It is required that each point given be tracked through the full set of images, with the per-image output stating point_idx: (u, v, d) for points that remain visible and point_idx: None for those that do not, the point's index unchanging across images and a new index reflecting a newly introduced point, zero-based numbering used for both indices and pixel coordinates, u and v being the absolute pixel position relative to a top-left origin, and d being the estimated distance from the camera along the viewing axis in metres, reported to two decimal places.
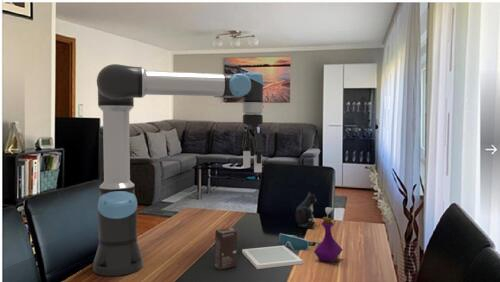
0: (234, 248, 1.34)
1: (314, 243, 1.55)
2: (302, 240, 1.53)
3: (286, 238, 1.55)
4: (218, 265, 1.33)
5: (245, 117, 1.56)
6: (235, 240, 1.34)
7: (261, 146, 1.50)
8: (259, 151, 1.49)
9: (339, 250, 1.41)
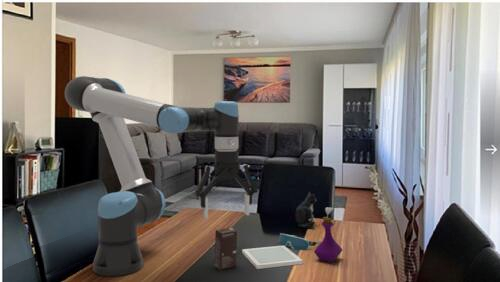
0: (234, 248, 1.34)
1: (314, 243, 1.55)
2: (302, 240, 1.53)
3: (286, 238, 1.55)
4: (218, 265, 1.33)
5: None
6: (235, 240, 1.34)
7: (198, 187, 1.30)
8: (195, 192, 1.31)
9: (339, 250, 1.41)
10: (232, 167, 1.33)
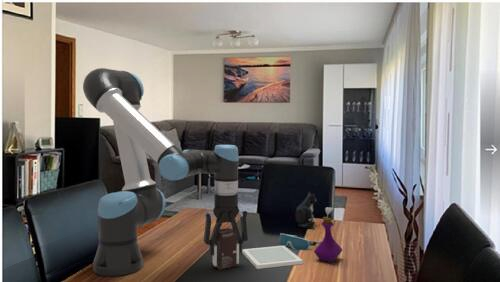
0: (234, 248, 1.34)
1: (315, 243, 1.55)
2: (303, 240, 1.53)
3: (287, 238, 1.55)
4: (218, 265, 1.33)
5: None
6: (235, 240, 1.34)
7: (205, 236, 1.32)
8: (204, 241, 1.33)
9: (339, 250, 1.41)
10: (231, 210, 1.34)
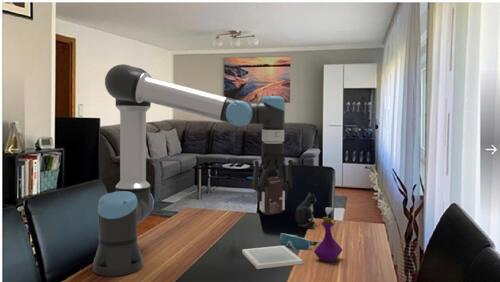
0: (280, 195, 1.41)
1: (315, 243, 1.56)
2: (303, 240, 1.53)
3: (287, 238, 1.56)
4: (266, 211, 1.40)
5: None
6: (281, 187, 1.41)
7: (253, 182, 1.39)
8: (252, 187, 1.40)
9: (339, 250, 1.41)
10: (278, 158, 1.41)
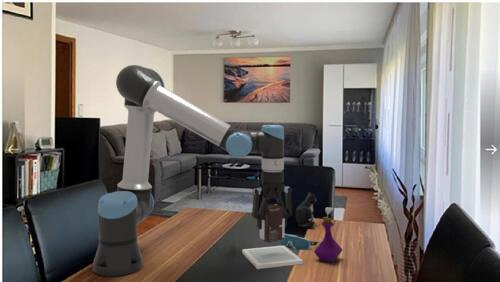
0: (280, 222, 1.42)
1: (315, 243, 1.56)
2: (303, 240, 1.53)
3: (287, 238, 1.56)
4: (266, 238, 1.41)
5: None
6: (281, 215, 1.42)
7: (253, 211, 1.40)
8: (252, 215, 1.41)
9: (339, 250, 1.41)
10: (278, 186, 1.41)
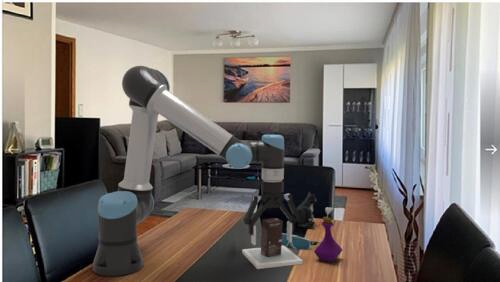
0: (280, 237, 1.42)
1: (316, 243, 1.56)
2: (304, 240, 1.53)
3: None
4: (265, 253, 1.41)
5: None
6: (281, 230, 1.42)
7: (246, 216, 1.39)
8: (243, 221, 1.40)
9: (339, 250, 1.41)
10: (277, 196, 1.42)
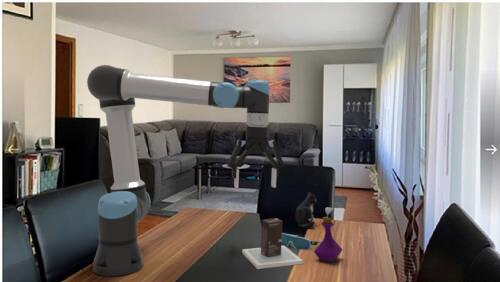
0: (279, 237, 1.42)
1: (316, 242, 1.56)
2: (304, 240, 1.53)
3: (288, 238, 1.56)
4: (265, 253, 1.41)
5: None
6: (281, 230, 1.42)
7: (230, 159, 1.41)
8: (227, 164, 1.42)
9: (339, 250, 1.41)
10: (262, 142, 1.43)
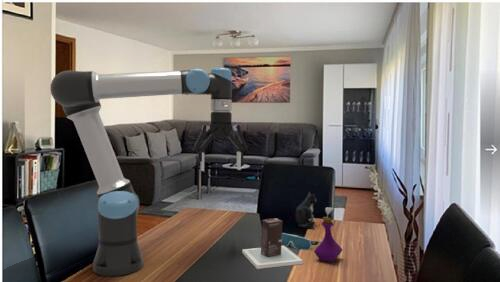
0: (279, 237, 1.42)
1: (316, 242, 1.56)
2: (305, 239, 1.53)
3: (288, 238, 1.56)
4: (265, 253, 1.41)
5: None
6: (281, 230, 1.42)
7: (195, 143, 1.48)
8: (193, 148, 1.49)
9: (339, 250, 1.41)
10: (226, 126, 1.51)
